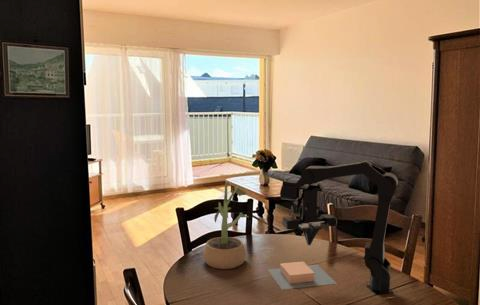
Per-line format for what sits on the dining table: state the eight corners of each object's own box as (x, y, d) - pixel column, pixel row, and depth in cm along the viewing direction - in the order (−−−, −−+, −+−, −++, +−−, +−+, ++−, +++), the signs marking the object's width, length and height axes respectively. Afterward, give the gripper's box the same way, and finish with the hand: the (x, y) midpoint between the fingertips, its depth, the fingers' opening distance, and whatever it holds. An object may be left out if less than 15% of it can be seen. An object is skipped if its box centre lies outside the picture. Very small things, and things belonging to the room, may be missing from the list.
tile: (314, 272, 136) (290, 275, 134) (314, 281, 137) (289, 284, 135) (303, 261, 146) (280, 263, 144) (303, 269, 146) (280, 271, 144)
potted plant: (248, 271, 145) (249, 192, 141) (200, 270, 146) (199, 191, 142) (249, 248, 168) (250, 179, 164) (207, 247, 168) (207, 179, 164)
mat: (336, 284, 135) (336, 283, 135) (281, 290, 131) (281, 289, 131) (317, 265, 151) (317, 264, 151) (267, 270, 146) (267, 269, 146)
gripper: (324, 195, 148) (323, 235, 150) (277, 198, 144) (276, 239, 146) (338, 202, 137) (336, 245, 139) (288, 206, 133) (287, 250, 135)
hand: (308, 244), depth 140 cm, fingers closed
